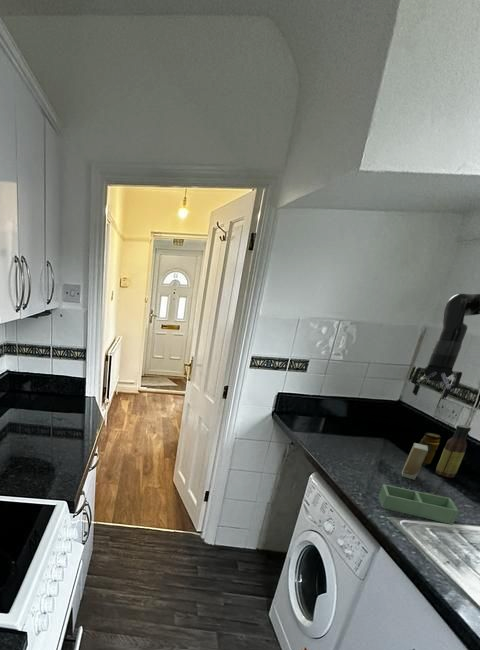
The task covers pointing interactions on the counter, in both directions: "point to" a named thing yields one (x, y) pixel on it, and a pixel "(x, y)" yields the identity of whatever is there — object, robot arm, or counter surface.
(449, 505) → the holder
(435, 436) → the condiment
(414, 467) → the cosmetic box
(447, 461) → the sauce bottle
